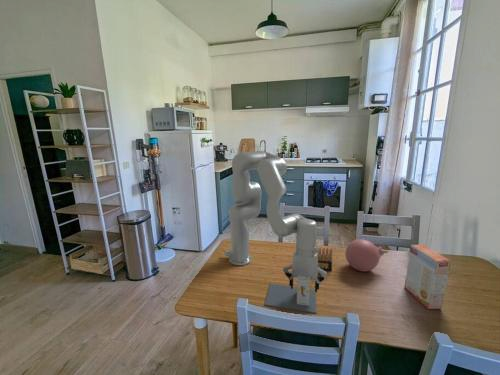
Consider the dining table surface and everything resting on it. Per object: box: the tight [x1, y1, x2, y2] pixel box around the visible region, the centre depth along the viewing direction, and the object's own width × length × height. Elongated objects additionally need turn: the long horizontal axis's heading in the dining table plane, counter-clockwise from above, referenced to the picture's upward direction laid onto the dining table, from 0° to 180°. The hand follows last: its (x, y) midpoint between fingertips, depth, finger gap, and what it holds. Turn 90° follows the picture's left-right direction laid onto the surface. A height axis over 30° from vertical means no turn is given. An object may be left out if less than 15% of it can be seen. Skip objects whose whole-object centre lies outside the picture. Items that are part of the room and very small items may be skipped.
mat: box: [264, 283, 317, 314], centre depth 101 cm, size 20×14×1 cm
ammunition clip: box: [316, 246, 333, 272], centre depth 120 cm, size 11×2×12 cm, turn 79°
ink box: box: [296, 276, 311, 306], centre depth 98 cm, size 9×5×12 cm, turn 167°
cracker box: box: [404, 244, 452, 310], centre depth 98 cm, size 14×6×21 cm, turn 2°
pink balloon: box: [345, 238, 388, 272], centre depth 120 cm, size 15×20×15 cm
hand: (303, 288), depth 98 cm, fingers open, 9 cm apart
